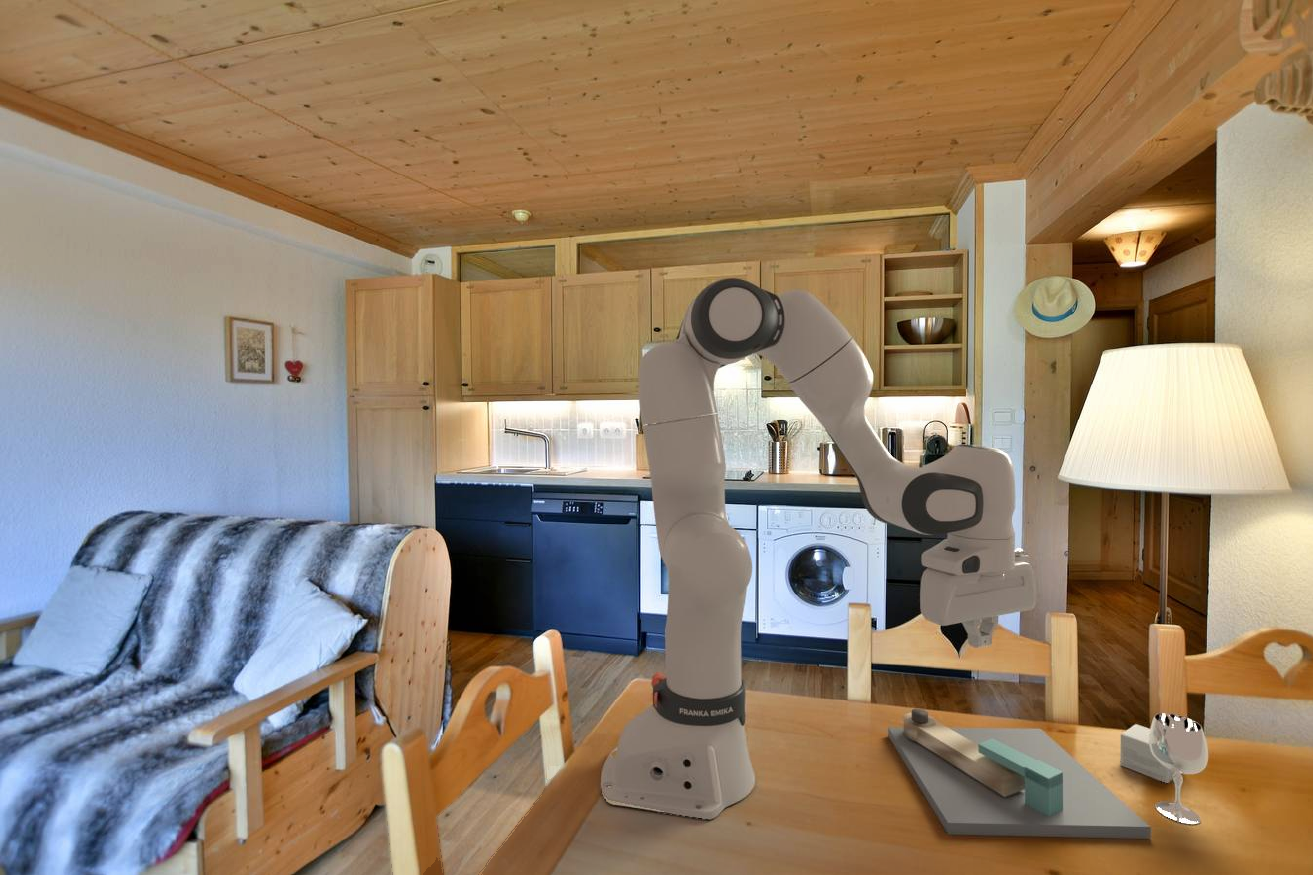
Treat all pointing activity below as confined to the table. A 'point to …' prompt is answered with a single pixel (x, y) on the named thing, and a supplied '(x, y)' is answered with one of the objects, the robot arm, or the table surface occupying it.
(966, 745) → the link
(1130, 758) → the small box
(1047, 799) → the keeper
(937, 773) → the base board
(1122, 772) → the table surface
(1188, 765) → the wineglass
